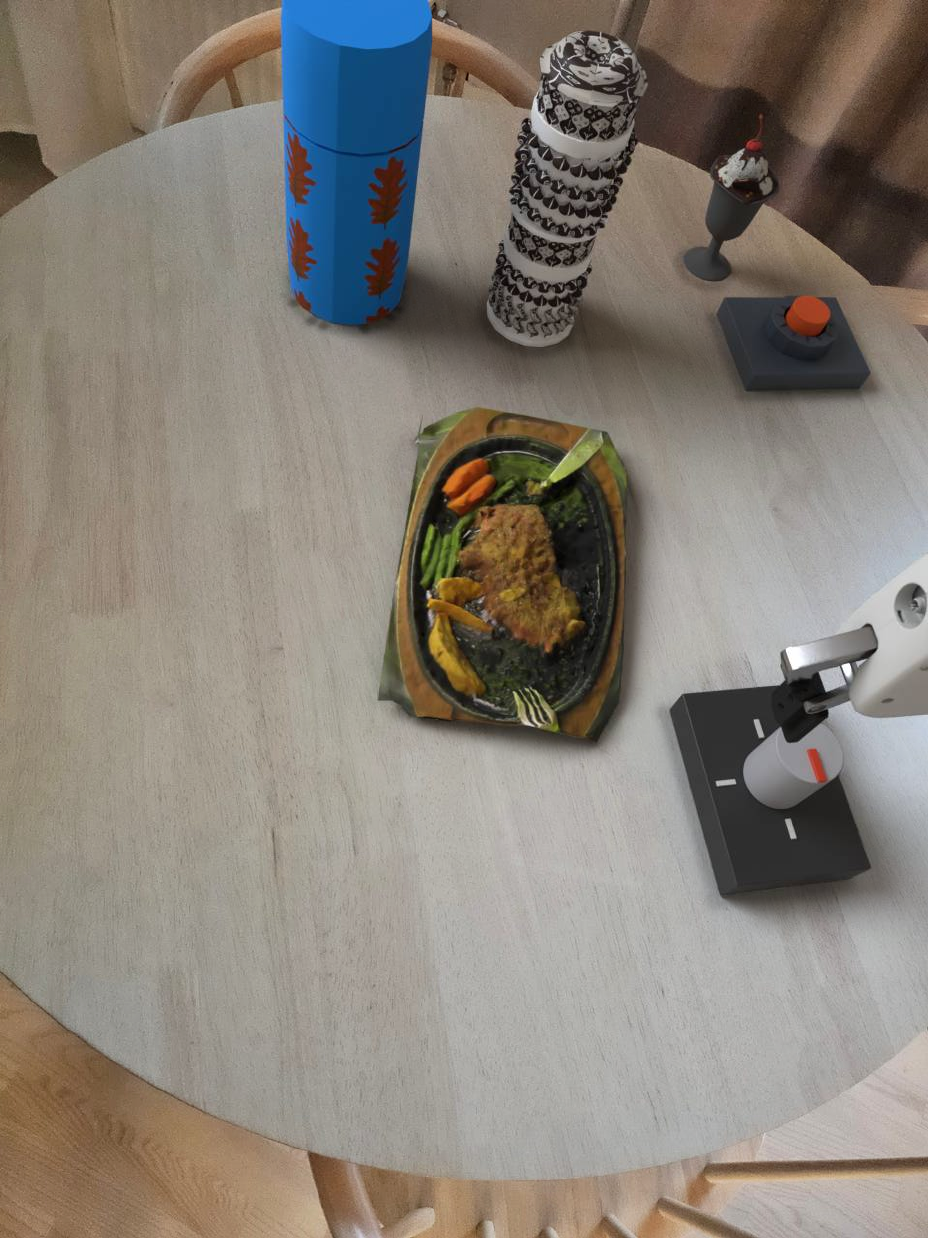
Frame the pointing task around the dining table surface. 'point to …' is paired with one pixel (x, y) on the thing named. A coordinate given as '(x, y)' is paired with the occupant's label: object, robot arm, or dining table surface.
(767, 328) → the switch block
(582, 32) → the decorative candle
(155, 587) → the dining table surface
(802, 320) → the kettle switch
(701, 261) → the sundae
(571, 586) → the prepared meal
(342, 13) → the thermos
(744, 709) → the dial panel
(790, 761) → the knob
